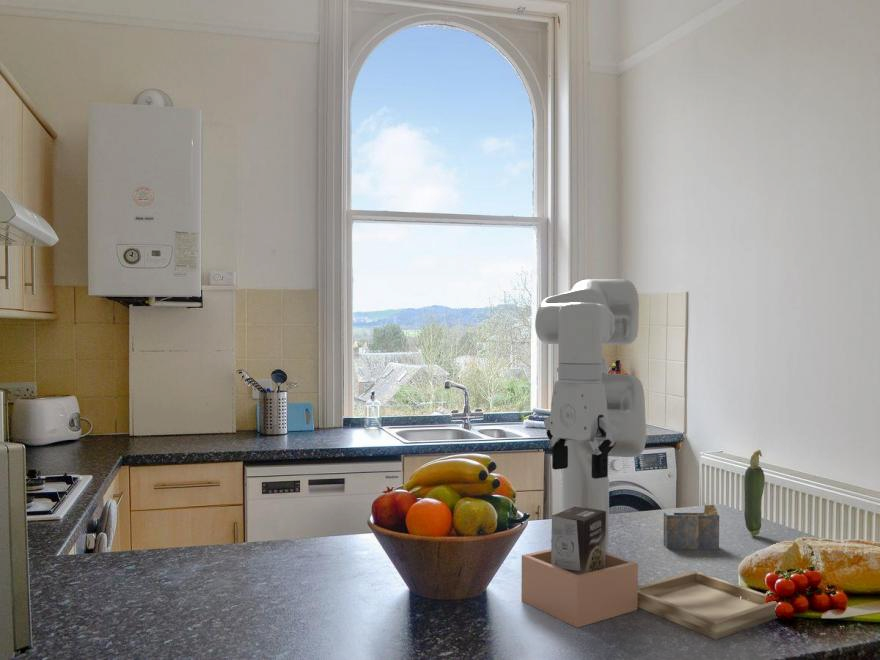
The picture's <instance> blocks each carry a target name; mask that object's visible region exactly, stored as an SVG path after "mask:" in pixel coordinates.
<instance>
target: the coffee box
mask: <svg viewBox="0 0 880 660" xmlns="http://www.w3.org/2000/svg"><path fill="white" fill-rule="evenodd" d="M551 540H552V541H550V542H551V548H550V549H551V565H554V566H556V567H559V568H561V569H564V570H566V571H569V572H571V573H574V574H576V575H580V574H584V573H588V572H592V571H597V570H601V569H605V554H606V511H602V510H597V509H589V508H580V507H573V508H570V509H568V510H565V511H563V512H562V511H560V512H558V513H555V514H552V515H551Z"/></svg>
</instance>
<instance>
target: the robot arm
mask: <svg viewBox="0 0 880 660" xmlns="http://www.w3.org/2000/svg"><path fill="white" fill-rule="evenodd" d="M639 300H640V299H639V294H638V291H637V288H636V286H635V284H634V283H633V282H632V281H631V280H629V279H625V278H615V279H614V278H613V279H612V278H610V279H609V278H604V279H603V278H599V279H598V278H596V279H594V278H593V279H592V278H591V279H584V280H581V281H578V282H577V283H575V284H574V285H573V286H572V288H571V289H570V291H567V292H564V293H563V292H562V293H560V294H556V295H551V296H548V297H546V298H544V299H543V300H542V301H541V303H540V304H539V306H538V309H537V311H536V314H535V323H534V326H535V333H536V336H537V338H538V339H539V341H541V342H542V343H544V344H547V345H557V349H558V350H557V360H558V361H557V368H556V371H557V380H555V382H554V385H553V389H552V390H553V391H552V395H551V403H550V415H549V416H548V417H546V418H545V419H544V420H543V425H544V427H545V430H546V436H547V437H548V439H549V445H550V446H551V447H552V453H551V454H552V456H551V458H552V459H551V460H552V462H551V463H552V464H551V466H552V467H551V468H552V470H556V471H557V470H561V512H563V511H565V510H568V509H570V508H573V507H580V508H589V509H597V510H602V511H606V552H608V553H610V551H609V550H610V549H609V547H610V546H609V545H610V540H609V539H610V536H609V535H610V533H609V531H610V530H609V527H610V521H609V520H610V518H609V517H610V479H609V472H608V471H609V467H608V465H609V457H614V458H615V457H617V458H619V457H621V458H633V457H638V456H640V455H642V453H643V452H644V450H645V448H646V447H645V446H646V442H647V423H646V422H647V421H646V399H645V398H646V397H645V391H644V386H643V383H642V382H641V380H640V379H639V377H637V376H636V375H633V374H627V373H609V364H608V362H607V360H606V358H604V356H603V346H604V345H607V346H613V345H614V346H618V345H619V346H626V345H630V344H632V343H634V342H635V341H636V339H637V337H638V334H639V311H640V309H639V308H640V305H639ZM550 540H551V541H552V539H550ZM551 541H550V542H551Z"/></svg>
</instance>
